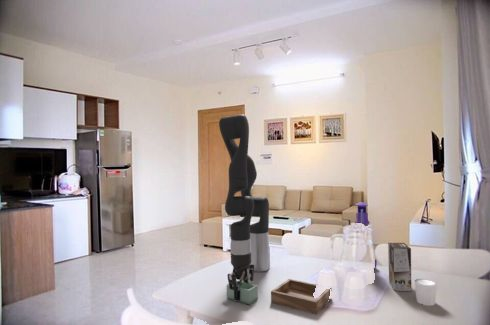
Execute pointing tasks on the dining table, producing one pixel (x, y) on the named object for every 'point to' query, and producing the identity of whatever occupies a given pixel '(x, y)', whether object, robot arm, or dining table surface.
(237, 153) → the robot arm
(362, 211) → the lantern
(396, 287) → the coffee box
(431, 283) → the white cup
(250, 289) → the sage crate
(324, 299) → the walnut crate
